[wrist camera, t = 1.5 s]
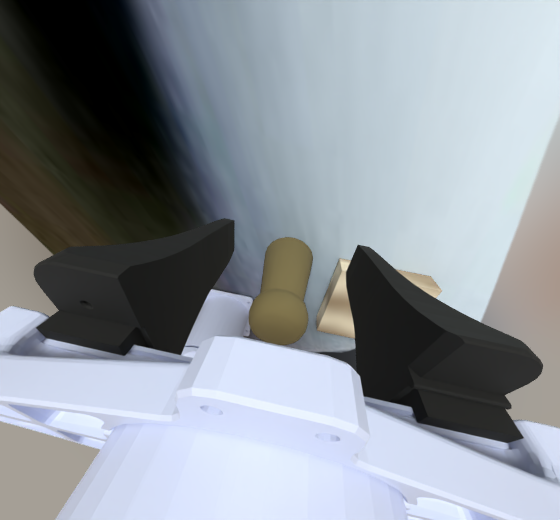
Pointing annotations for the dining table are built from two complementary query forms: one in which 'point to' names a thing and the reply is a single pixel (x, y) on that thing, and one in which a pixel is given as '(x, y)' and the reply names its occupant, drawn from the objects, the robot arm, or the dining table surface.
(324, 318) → the birch riser block
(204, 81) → the dining table surface
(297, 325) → the cork
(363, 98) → the dining table surface
